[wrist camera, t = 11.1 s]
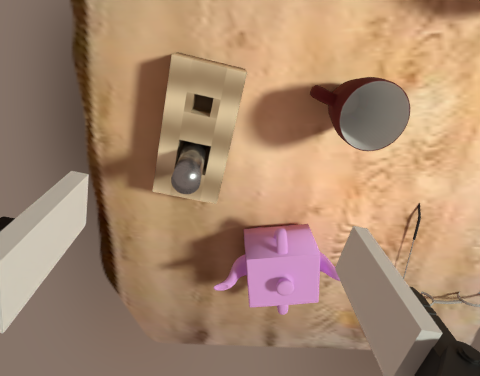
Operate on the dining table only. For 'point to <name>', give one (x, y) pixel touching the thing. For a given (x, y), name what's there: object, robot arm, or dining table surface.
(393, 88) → the mug
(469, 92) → the dining table surface
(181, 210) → the dining table surface
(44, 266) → the robot arm
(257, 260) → the teapot
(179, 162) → the pin
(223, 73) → the block
